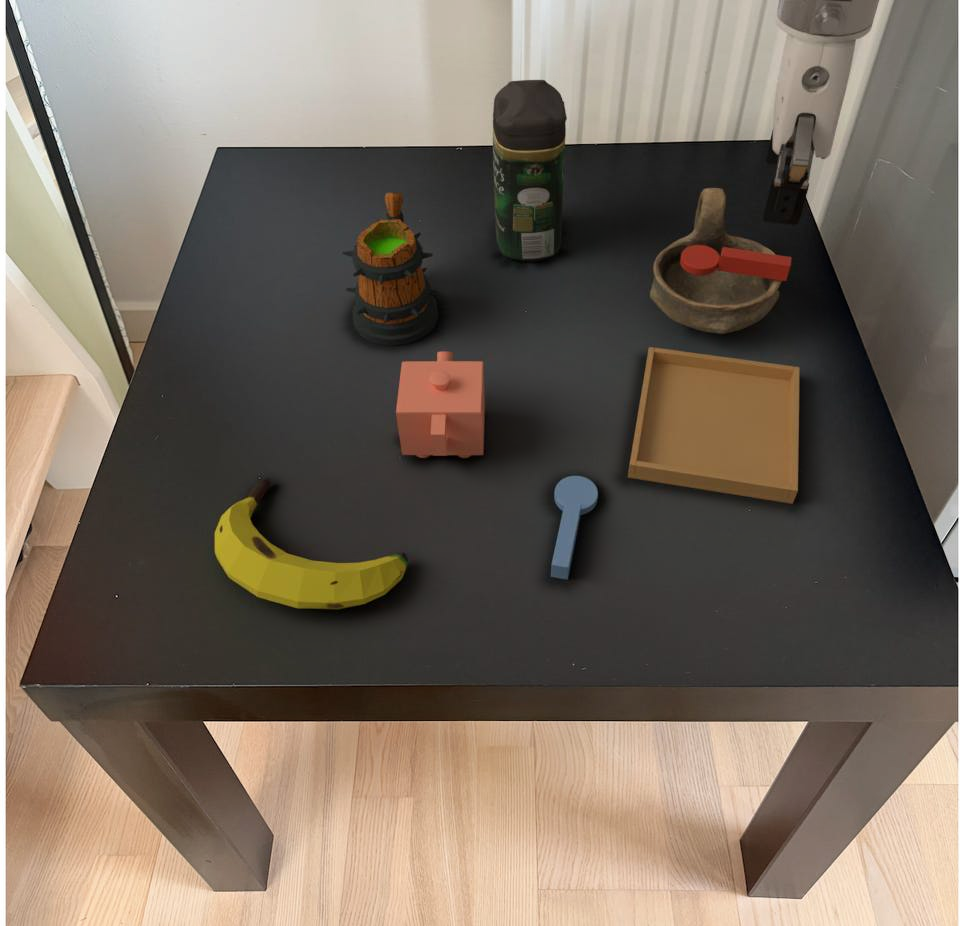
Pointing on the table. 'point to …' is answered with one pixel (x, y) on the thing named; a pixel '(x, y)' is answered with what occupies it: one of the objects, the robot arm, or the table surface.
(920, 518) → the table surface
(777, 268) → the red spoon
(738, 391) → the tray
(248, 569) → the banana
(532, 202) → the coffee jar
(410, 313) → the mug
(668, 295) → the bowl
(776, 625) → the table surface
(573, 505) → the blue paddle
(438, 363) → the pink cube teapot
